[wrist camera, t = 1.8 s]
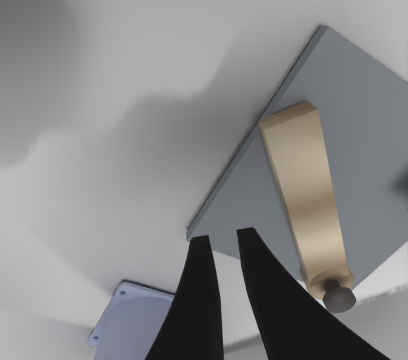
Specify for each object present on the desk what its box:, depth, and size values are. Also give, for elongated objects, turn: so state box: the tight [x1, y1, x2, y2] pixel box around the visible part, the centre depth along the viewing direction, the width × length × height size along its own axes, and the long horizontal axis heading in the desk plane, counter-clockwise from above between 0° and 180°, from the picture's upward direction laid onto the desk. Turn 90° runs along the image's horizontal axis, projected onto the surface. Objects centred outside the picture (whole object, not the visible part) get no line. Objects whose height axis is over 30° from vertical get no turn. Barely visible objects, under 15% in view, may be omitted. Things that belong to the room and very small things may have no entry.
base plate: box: [187, 25, 408, 291], centre depth 21 cm, size 16×16×1 cm
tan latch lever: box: [258, 101, 356, 313], centre depth 20 cm, size 16×4×3 cm, turn 21°
